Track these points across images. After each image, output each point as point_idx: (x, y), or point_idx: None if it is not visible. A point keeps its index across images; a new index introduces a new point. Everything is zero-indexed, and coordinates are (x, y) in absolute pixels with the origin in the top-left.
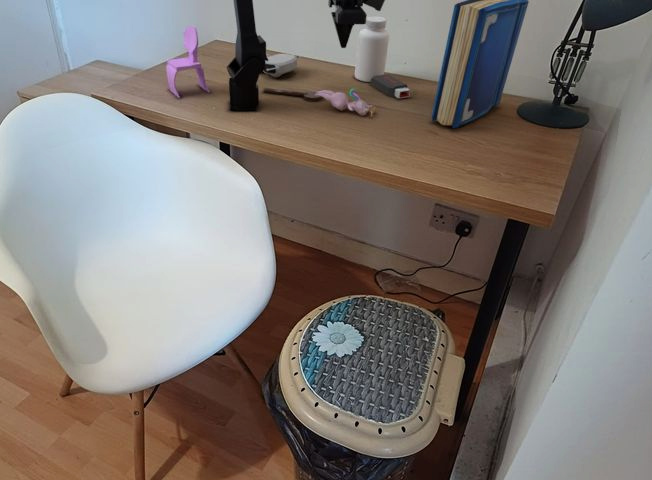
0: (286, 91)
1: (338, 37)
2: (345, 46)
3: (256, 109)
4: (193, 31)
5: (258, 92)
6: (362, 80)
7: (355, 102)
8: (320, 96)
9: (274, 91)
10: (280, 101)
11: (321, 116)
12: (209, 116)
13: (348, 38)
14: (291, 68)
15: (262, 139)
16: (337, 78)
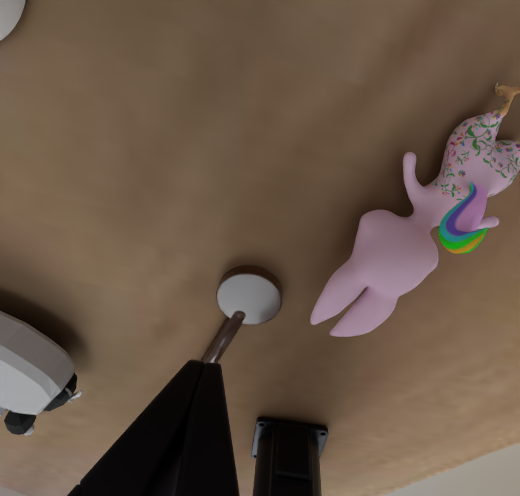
0: (216, 362)
1: (174, 489)
2: (221, 376)
3: (327, 429)
4: None
5: (308, 464)
6: (21, 14)
7: (417, 182)
8: (270, 280)
9: None
10: (266, 372)
11: (424, 302)
12: (333, 486)
13: (231, 451)
14: (28, 334)
15: (507, 443)
16: (8, 145)
